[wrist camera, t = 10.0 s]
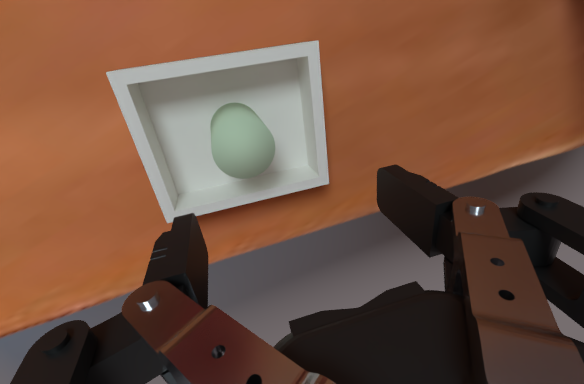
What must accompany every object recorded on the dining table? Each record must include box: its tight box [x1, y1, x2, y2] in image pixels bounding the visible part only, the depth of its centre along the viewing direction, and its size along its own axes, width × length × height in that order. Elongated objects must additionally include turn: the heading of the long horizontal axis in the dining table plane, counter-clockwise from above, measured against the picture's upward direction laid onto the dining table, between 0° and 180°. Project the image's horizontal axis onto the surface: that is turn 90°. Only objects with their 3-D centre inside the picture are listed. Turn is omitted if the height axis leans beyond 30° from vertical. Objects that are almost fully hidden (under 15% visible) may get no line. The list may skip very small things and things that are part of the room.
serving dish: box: [106, 41, 329, 223], centre depth 26 cm, size 16×13×4 cm
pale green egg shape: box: [210, 103, 275, 179], centre depth 25 cm, size 5×5×7 cm
